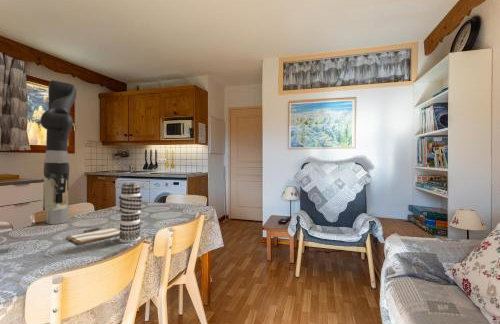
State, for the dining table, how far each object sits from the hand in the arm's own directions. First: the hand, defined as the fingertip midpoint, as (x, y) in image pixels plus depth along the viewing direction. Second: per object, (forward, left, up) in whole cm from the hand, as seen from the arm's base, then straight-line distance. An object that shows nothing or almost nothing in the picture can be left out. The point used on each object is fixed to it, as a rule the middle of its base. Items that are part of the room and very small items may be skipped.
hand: (56, 202), depth 105 cm
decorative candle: (+18, +22, -17) cm, 33 cm away
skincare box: (0, 0, -3) cm, 3 cm away
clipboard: (+3, +15, -17) cm, 23 cm away
